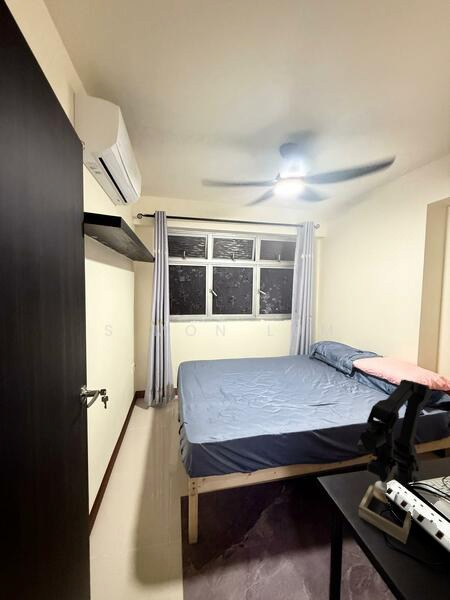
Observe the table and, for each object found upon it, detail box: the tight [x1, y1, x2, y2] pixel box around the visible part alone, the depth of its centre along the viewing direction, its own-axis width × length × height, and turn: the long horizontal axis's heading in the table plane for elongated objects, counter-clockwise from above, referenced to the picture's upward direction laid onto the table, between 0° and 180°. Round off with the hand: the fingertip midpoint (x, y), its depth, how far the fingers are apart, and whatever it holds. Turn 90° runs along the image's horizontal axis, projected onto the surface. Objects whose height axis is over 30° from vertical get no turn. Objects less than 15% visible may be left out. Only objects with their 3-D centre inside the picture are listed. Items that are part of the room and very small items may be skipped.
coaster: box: [372, 482, 391, 506], centre depth 93 cm, size 7×7×1 cm
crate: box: [358, 484, 413, 545], centre depth 85 cm, size 13×13×4 cm
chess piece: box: [375, 480, 388, 493], centre depth 93 cm, size 5×5×10 cm
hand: (383, 480), depth 93 cm, fingers closed on chess piece
